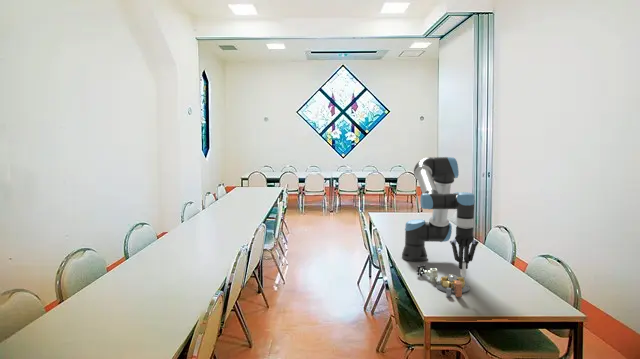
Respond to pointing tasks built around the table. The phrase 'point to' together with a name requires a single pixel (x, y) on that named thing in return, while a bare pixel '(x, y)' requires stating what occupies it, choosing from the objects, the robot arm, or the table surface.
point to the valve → (428, 273)
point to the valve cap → (450, 278)
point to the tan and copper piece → (454, 284)
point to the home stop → (448, 292)
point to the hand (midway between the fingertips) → (462, 275)
